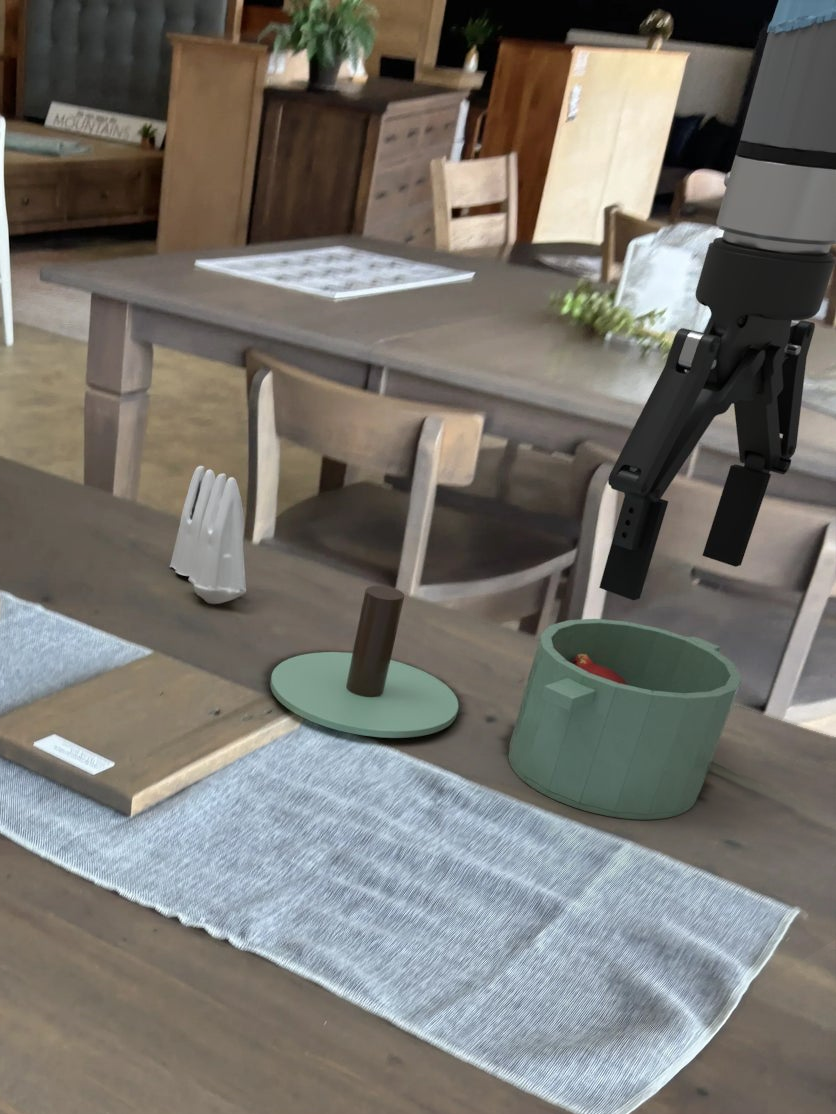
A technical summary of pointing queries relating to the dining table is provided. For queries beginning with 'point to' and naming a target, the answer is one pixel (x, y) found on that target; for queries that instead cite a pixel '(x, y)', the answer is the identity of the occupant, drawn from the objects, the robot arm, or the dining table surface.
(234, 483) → the gray pronged block
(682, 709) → the pot
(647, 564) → the robot arm
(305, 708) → the lid
